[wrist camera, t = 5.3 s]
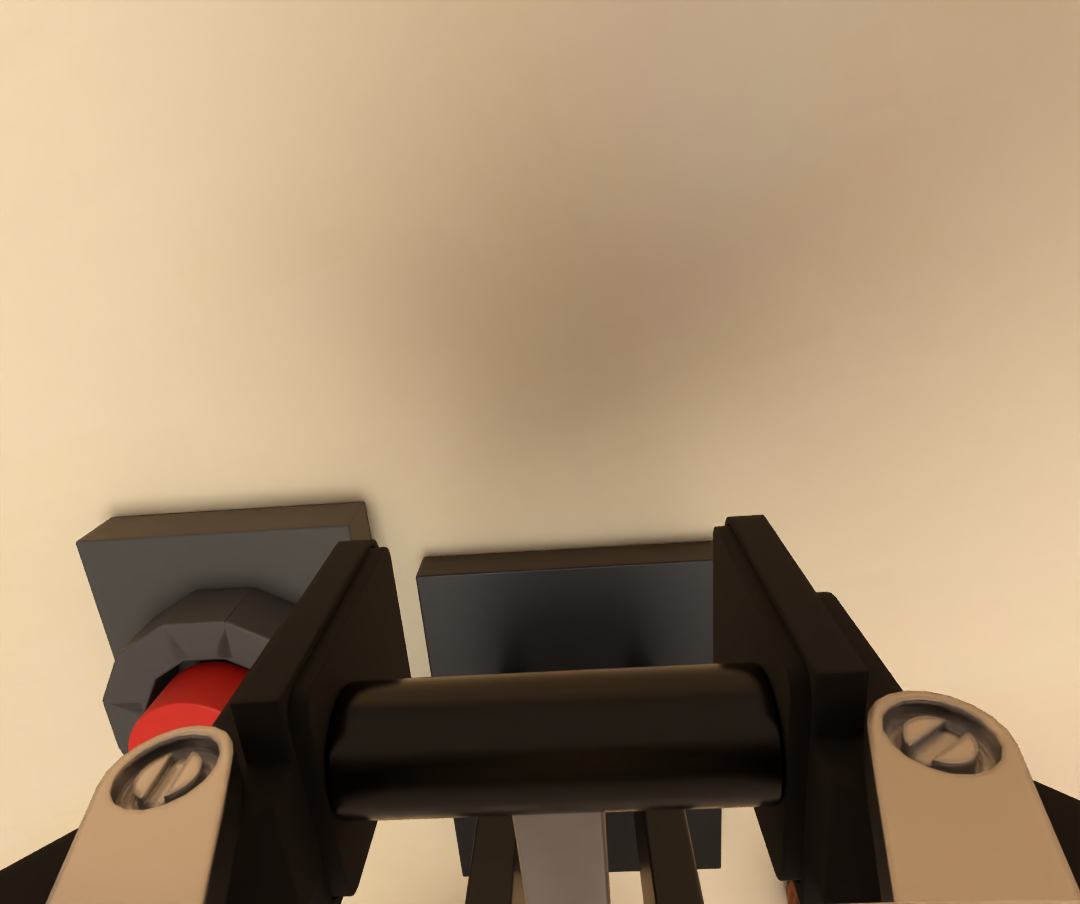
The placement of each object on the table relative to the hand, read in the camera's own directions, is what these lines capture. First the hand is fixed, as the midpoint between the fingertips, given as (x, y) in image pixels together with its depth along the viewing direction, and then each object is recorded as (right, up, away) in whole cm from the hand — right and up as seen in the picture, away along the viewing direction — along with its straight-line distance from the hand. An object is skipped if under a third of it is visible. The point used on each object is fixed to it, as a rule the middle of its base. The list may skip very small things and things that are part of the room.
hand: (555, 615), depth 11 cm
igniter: (-9, -4, +12) cm, 15 cm away
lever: (0, -5, +1) cm, 5 cm away
